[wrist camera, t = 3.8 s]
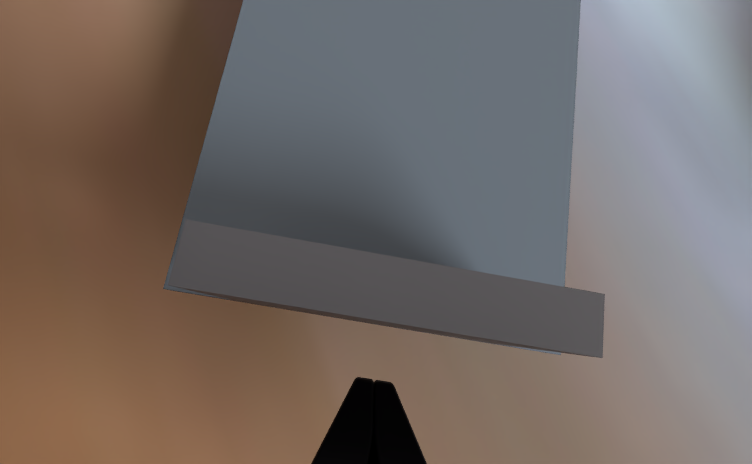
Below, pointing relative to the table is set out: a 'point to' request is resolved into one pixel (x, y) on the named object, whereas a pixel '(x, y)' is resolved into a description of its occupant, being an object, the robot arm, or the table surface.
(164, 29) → the table surface
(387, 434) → the robot arm
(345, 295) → the lid
